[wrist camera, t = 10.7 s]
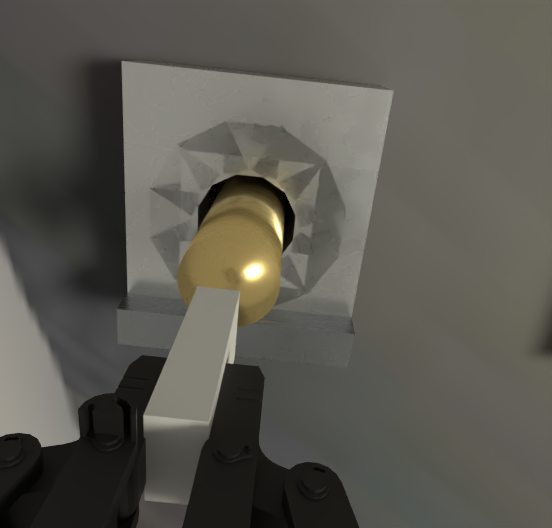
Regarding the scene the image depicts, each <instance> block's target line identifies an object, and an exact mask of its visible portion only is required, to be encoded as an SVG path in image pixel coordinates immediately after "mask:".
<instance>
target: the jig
mask: <svg viewBox="0 0 552 528" xmlns="http://www.w3.org/2000/svg"><path fill="white" fill-rule="evenodd" d="M122 95H123V134H124V172H125V211H126V250H127V289H128V294H127V295H126V296H125V298H124V299H123V301H122V302H121V304H120V305H119V306H118V308H117V331H118V344H125V345H135V346H144V347H154V348H163V349H171V348H172V346H173V343H174V341H175V339H176V336H177V334H178V331H179V329H180V327H181V324H182V322H183V320H184V317H185V315H186V312H187V310H188V307H187V306H186V304H185V303H184V301H183V299H182V297H181V295H180V292H179V289H178V284H177V274H178V268H179V265H180V262H181V260H182V258H183V256H184V255H185V253H186V251H187V249H188V247H189V246H190V244H191V242H192V240H193V238H194V237H195V235H196V233H197V231H198V229H199V228H200V226H201V224H202V222H203V220H204V219H205V217H206V215H207V213H208V211H209V194H210V188H211V186H212V185H214V184H216V183H218V182H220V181H223V180H225V179H227V178H229V177H232V176H234V175H236V174H238V175H247V176H256V177H264V178H265V179H266V180H268V181H269V182H271V183H272V184H273V185H275V186H276V187H278V188H279V189H280V190H282V191H283V192H285V194H286V196H287V198H288V200H289V203H290V205H291V207H292V209H293V211H294V216H293V220H292V221H291V223H290V224H289V225H288V226H287V228H286V229H285V230H284V234H283V248H282V263H281V278H280V290H279V295H278V298H277V300H276V302H275V304H274V306H273V307H272V309H271V310H270V311H269V312H268V313H267V314H266V315H265V316H264V317H263V318H262V319H260V320H258V321H257V322H255V323H252V324H250V325H247V326H243V327H237V334H236V347H235V356H238V357H248V358H257V359H267V360H276V361H286V362H295V363H304V364H314V365H323V366H333V367H342V368H348V367H349V362H350V357H351V352H352V346H353V341H354V336H355V333H354V328H353V323H352V318H351V316H352V311H353V305H354V300H355V295H356V289H357V284H358V278H359V273H360V268H361V262H362V257H363V252H364V246H365V241H366V236H367V230H368V225H369V220H370V214H371V209H372V203H373V198H374V193H375V187H376V182H377V177H378V171H379V166H380V161H381V155H382V150H383V145H384V139H385V134H386V129H387V123H388V118H389V112H390V107H391V102H392V96H393V90H390V89H388V88H385V87H382V86H377V85H368V84H359V83H349V82H340V81H331V80H322V79H313V78H304V77H294V76H285V75H276V74H267V73H258V72H249V71H239V70H230V69H221V68H212V67H203V66H194V65H185V64H175V63H166V62H157V61H148V60H134V61H122Z"/></svg>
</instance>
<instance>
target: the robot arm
mask: <svg viewBox="0 0 552 528" xmlns="http://www.w3.org/2000/svg"><path fill="white" fill-rule="evenodd" d="M239 295H240V291H237V290H228V289H218V288H209V287H199V286H197V289H196V291H195V293H194V296H193V298H192V301H191V303H190V305H189V308H188V310H187V312H186V315H185V317H184V320H183V322H182V324H181V327H180V329H179V331H178V334H177V336H176V339H175V341H174V343H173V346H172V348H171V351H170V353H169V355H168V358H163V357H154V356H144V355H142V356H140V357H139V358H138V359H137V360H135V361H134V362H133V363H131V364H130V365H129V367H128V369H127V371H126V373H125V375H124V376H123V379H122V380H121V382H120V384H119V386H118V389H117V390H116V392H115V393H111V394H102V395H98V396H95V397H93V398H91V399H89V400H87V401H86V402H84V403H83V404H82V405H81V406H80V408H79V409H78V414H79V426H80V438H79V440H77V441H74V442H71V443H67V444H63V445H56V446H48V447H41V444H40V443H39V441H38V439H37V438H35V437H34V436H32V435H30V434H22V433H15V434H8V435H4V436H2V437H0V528H136V526H137V523H138V518H139V501H140V498H141V495H142V493H143V490H144V488H145V500H147V501H157V502H166V503H176V504H185V505H188V507H187V511H186V515H185V519H184V523H183V527H182V528H359V526H358V523H357V521H356V518H355V515H354V513H353V510H352V508H351V505H350V503H349V500H348V497H347V495H346V492H345V490H344V487H343V484H342V482H341V481H340V479H339V477H338V476H337V474H336V473H335V472H333V471H332V470H331V469H330V468H328V467H326V466H324V465H321V464H319V463H312V462H305V463H301V464H297V465H295V466H294V467H292V468H291V469H290V470H289V469H286V468H284V467H281V466H279V465H277V464H275V463H273V462H272V461H270V460H269V459H268V458H267V457H266V456H265V455H264V454H263V452H262V451H261V449H260V446H259V430H260V420H261V409H262V399H263V389H264V379H265V378H264V376H263V374H262V372H261V370H260V368H259V366H249V365H240V364H233V362H234V357H235V347H236V334H237V321H238V308H239Z"/></svg>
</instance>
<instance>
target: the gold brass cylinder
mask: <svg viewBox="0 0 552 528" xmlns="http://www.w3.org/2000/svg"><path fill="white" fill-rule="evenodd" d="M284 219H285V196H284V193H283V191H282V190H280V189H279V188H278V187H276V186H275V185H273V184H272V183H271V182H269V181H268V180H266V179H265V178H264V177H256V176H247V175H238V174H236V175H234V176H232V177H230V178H229V179H228V180H227V181H226V182H225V183H224V185H223V186H222V188H221V190H220V192H219V193H218V195H217V197H216V199H215V201H214V202H213V204H212V206H211V208H210V210H209V211H208V213H207V215H206V217H205V219H204V220H203V222H202V224H201V226H200V228H199V229H198V231H197V233H196V235H195V237H194V238H193V240H192V242H191V244H190V246H189V247H188V249H187V251H186V253H185V255H184V256H183V258H182V260H181V262H180V265H179V268H178V274H177V284H178V289H179V292H180V295H181V297H182V299H183V301H184V303H185V304H186V306H187V307H188V308H189V305H190V303H191V301H192V298H193V296H194V293H195V291H196V289H197V286H199V287H209V288H218V289H228V290H237V291H240V295H239V308H238V321H237V327H243V326H247V325H250V324H252V323H255V322H257V321H258V320H260V319H262V318H263V317H264V316H265V315H266V314H267V313H268V312H269V311H270V310H271V309H272V307H273V306H274V304H275V302H276V300H277V298H278V295H279V290H280V278H281V263H282V248H283V234H284Z"/></svg>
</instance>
